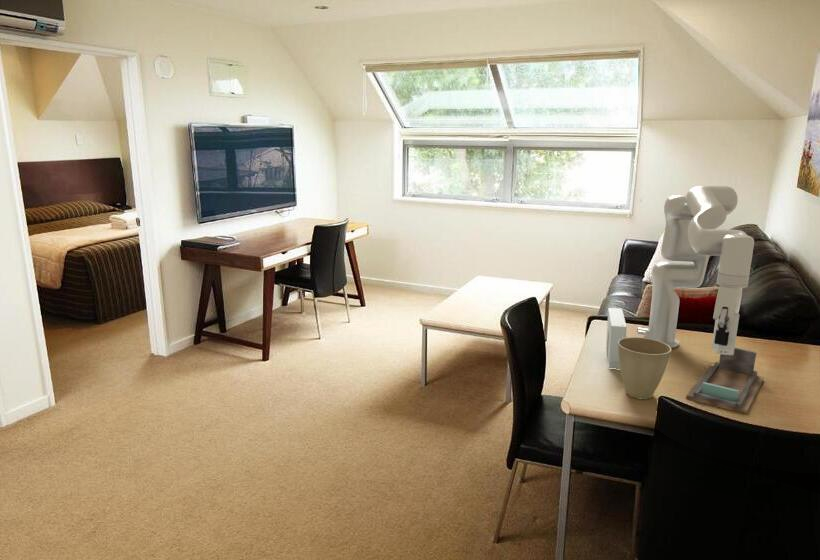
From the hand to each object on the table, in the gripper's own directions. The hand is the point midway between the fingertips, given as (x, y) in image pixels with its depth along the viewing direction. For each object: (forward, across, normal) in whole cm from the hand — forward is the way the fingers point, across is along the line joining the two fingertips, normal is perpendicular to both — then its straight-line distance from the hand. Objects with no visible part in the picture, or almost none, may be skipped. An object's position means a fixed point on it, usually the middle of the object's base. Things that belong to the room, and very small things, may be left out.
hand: (723, 340), depth 161 cm
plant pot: (+21, +4, -20) cm, 29 cm away
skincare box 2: (+3, 0, 0) cm, 3 cm away
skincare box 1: (+21, -20, -36) cm, 46 cm away
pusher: (+20, -6, 0) cm, 20 cm away
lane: (+21, -17, 0) cm, 27 cm away
